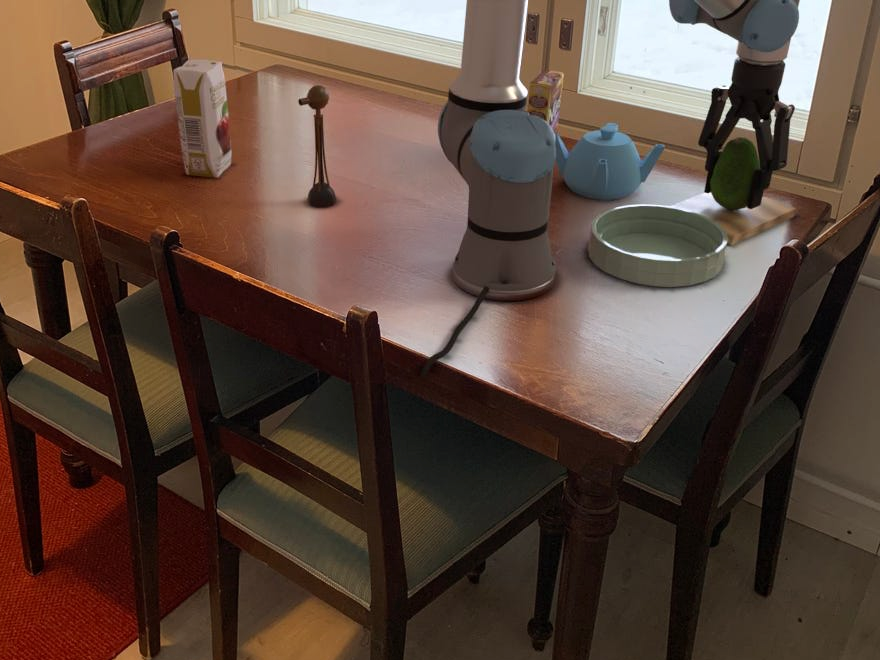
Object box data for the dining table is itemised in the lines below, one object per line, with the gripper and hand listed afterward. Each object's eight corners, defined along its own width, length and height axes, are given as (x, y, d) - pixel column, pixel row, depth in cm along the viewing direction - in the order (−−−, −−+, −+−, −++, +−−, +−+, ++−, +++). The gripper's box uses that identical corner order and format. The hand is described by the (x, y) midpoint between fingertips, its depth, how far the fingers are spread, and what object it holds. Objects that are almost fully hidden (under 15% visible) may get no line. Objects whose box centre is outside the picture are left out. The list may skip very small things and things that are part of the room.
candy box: (543, 167, 187) (551, 85, 178) (521, 164, 188) (527, 82, 179) (556, 152, 194) (564, 71, 185) (535, 148, 195) (542, 68, 186)
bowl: (665, 302, 144) (670, 274, 142) (561, 253, 157) (563, 226, 155) (748, 262, 155) (754, 235, 153) (644, 219, 168) (648, 194, 165)
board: (731, 245, 160) (733, 237, 159) (660, 217, 169) (662, 209, 168) (794, 216, 169) (796, 208, 169) (724, 191, 178) (726, 183, 177)
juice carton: (180, 176, 182) (167, 70, 171) (199, 159, 189) (187, 56, 178) (219, 180, 181) (208, 73, 170) (236, 163, 188) (227, 59, 177)
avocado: (713, 195, 173) (727, 127, 166) (759, 205, 169) (775, 135, 162) (699, 211, 167) (713, 141, 160) (746, 222, 164) (762, 150, 157)
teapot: (663, 194, 177) (673, 134, 171) (596, 210, 171) (604, 149, 165) (607, 166, 188) (614, 108, 182) (542, 180, 182) (547, 122, 175)
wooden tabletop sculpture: (313, 211, 170) (307, 93, 158) (297, 202, 173) (291, 85, 161) (341, 202, 173) (337, 86, 161) (325, 194, 176) (321, 79, 164)
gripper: (835, 69, 150) (799, 212, 163) (719, 40, 162) (694, 175, 176) (807, 78, 146) (772, 224, 159) (690, 48, 159) (667, 185, 172)
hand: (732, 198), depth 167 cm, fingers closed on avocado, 8 cm apart
